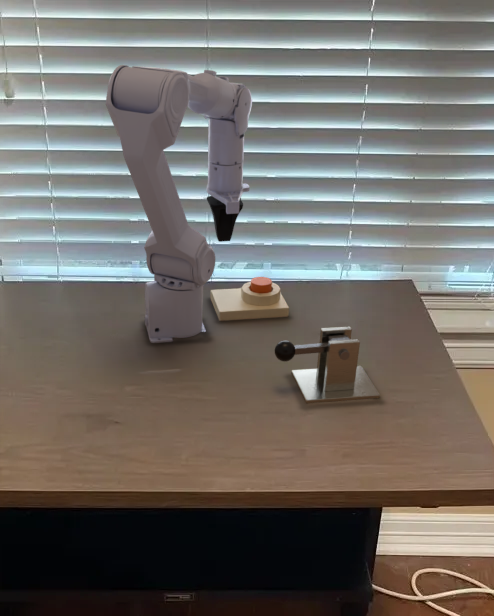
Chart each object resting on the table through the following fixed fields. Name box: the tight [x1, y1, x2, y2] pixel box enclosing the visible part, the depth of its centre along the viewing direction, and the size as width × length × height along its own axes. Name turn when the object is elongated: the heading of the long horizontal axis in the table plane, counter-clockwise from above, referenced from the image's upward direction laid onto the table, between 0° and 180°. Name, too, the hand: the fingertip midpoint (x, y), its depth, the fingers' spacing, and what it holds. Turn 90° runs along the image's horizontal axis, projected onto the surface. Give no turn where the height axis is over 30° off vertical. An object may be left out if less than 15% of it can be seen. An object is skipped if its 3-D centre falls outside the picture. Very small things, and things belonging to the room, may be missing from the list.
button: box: [250, 276, 273, 293], centre depth 158 cm, size 4×4×2 cm
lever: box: [274, 335, 350, 362], centre depth 133 cm, size 11×3×3 cm, turn 98°
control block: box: [209, 281, 290, 322], centre depth 159 cm, size 12×9×4 cm
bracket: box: [290, 326, 381, 404], centre depth 135 cm, size 11×9×9 cm
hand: (223, 239), depth 158 cm, fingers closed
